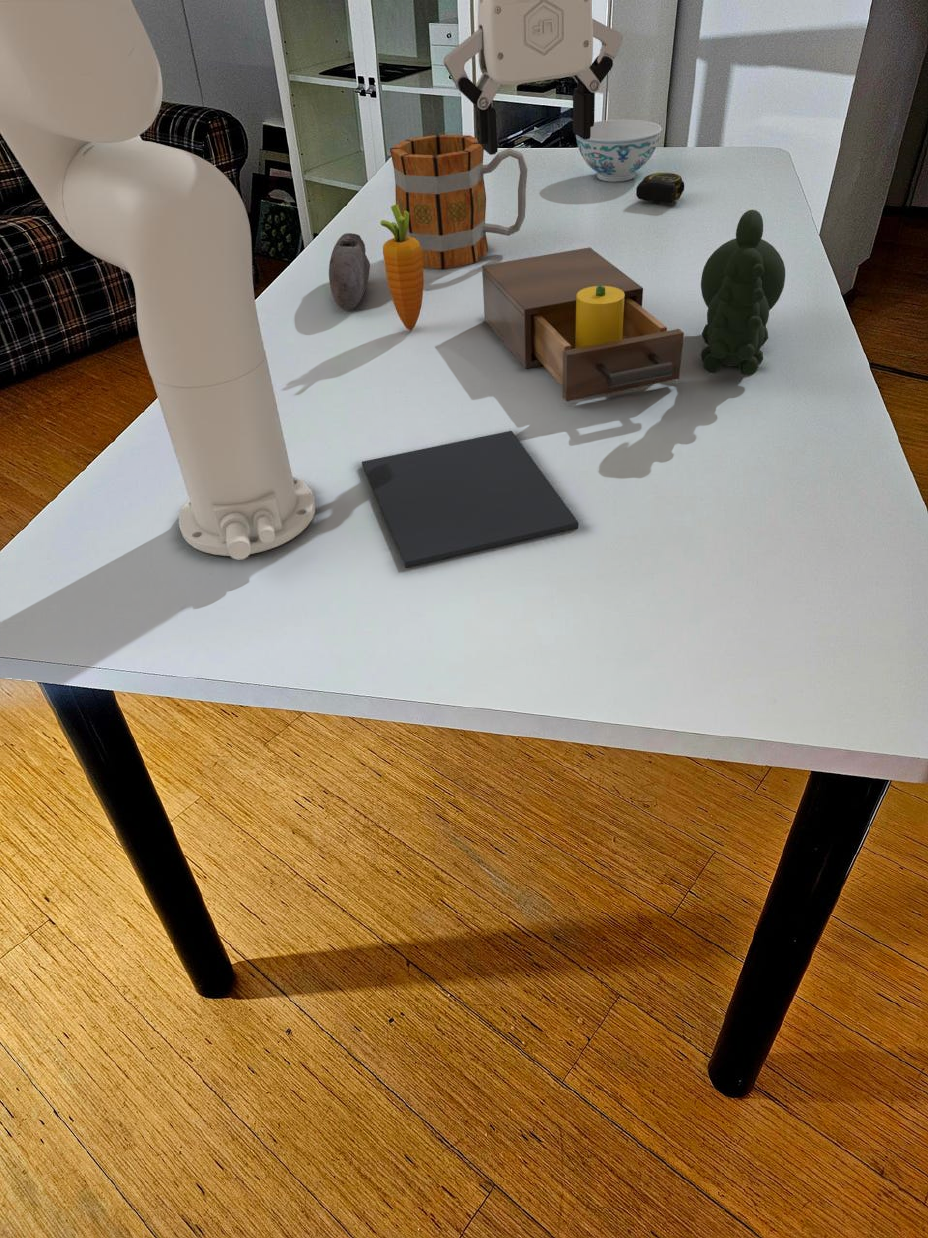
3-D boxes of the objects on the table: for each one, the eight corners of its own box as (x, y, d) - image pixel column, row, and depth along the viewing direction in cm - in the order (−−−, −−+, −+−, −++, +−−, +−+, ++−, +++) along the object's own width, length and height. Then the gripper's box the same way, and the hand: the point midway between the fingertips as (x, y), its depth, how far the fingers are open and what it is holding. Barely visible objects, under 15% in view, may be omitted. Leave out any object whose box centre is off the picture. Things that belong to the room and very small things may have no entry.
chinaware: (606, 193, 154) (608, 144, 149) (558, 175, 164) (559, 129, 159) (675, 177, 159) (679, 129, 154) (624, 160, 169) (626, 115, 164)
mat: (578, 527, 79) (578, 522, 79) (405, 567, 76) (404, 562, 76) (511, 435, 92) (511, 430, 92) (362, 466, 90) (361, 461, 89)
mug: (397, 271, 131) (385, 160, 121) (403, 241, 141) (392, 137, 132) (530, 263, 130) (529, 151, 120) (526, 234, 140) (525, 128, 131)
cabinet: (639, 346, 107) (643, 287, 102) (525, 368, 104) (524, 309, 100) (588, 301, 118) (590, 246, 114) (484, 320, 116) (481, 265, 111)
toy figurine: (769, 412, 96) (777, 303, 113) (801, 237, 83) (806, 142, 99) (680, 405, 99) (701, 299, 115) (697, 234, 85) (719, 142, 101)
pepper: (628, 360, 100) (633, 289, 94) (585, 368, 99) (588, 297, 93) (609, 342, 103) (613, 273, 98) (568, 350, 103) (569, 281, 97)
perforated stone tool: (363, 319, 118) (355, 266, 114) (324, 321, 119) (315, 268, 114) (375, 278, 130) (369, 229, 125) (340, 280, 130) (332, 231, 125)
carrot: (424, 338, 112) (412, 213, 103) (386, 337, 113) (371, 213, 104) (433, 322, 116) (422, 200, 106) (396, 321, 117) (383, 201, 107)
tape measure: (633, 204, 149) (634, 180, 146) (651, 193, 153) (653, 169, 150) (670, 209, 145) (672, 185, 143) (688, 197, 149) (691, 173, 147)
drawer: (697, 394, 95) (703, 347, 91) (581, 419, 92) (582, 371, 89) (623, 330, 109) (626, 286, 105) (520, 349, 106) (519, 305, 103)
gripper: (446, -59, 73) (462, 166, 84) (641, -83, 75) (632, 139, 87) (425, -64, 78) (443, 148, 90) (608, -87, 81) (603, 122, 92)
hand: (536, 143), depth 88 cm, fingers open, 9 cm apart
